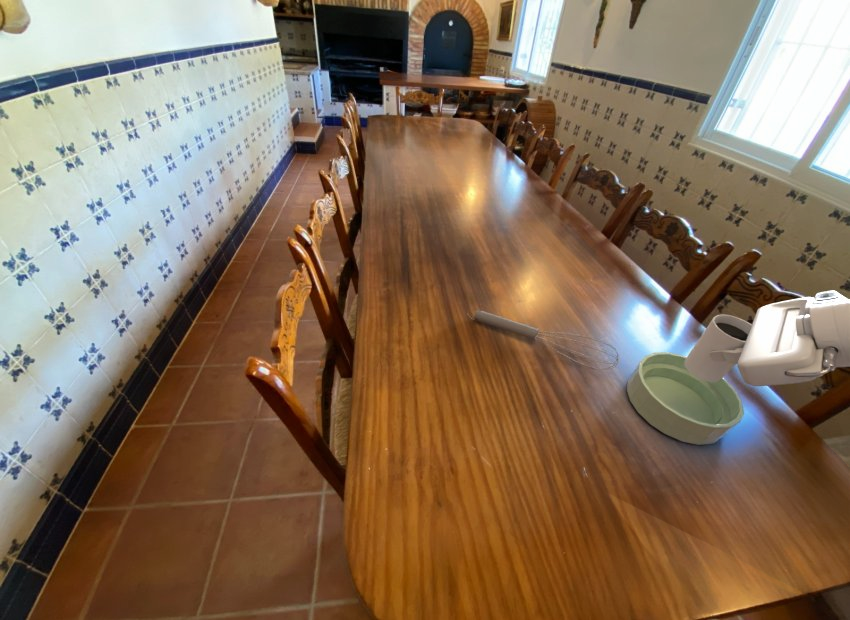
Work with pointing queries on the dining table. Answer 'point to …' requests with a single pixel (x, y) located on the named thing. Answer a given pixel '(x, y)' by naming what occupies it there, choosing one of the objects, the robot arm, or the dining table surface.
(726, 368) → the white coffee cup
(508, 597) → the dining table surface
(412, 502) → the dining table surface
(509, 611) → the dining table surface
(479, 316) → the kitchen whisk
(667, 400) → the bowl
